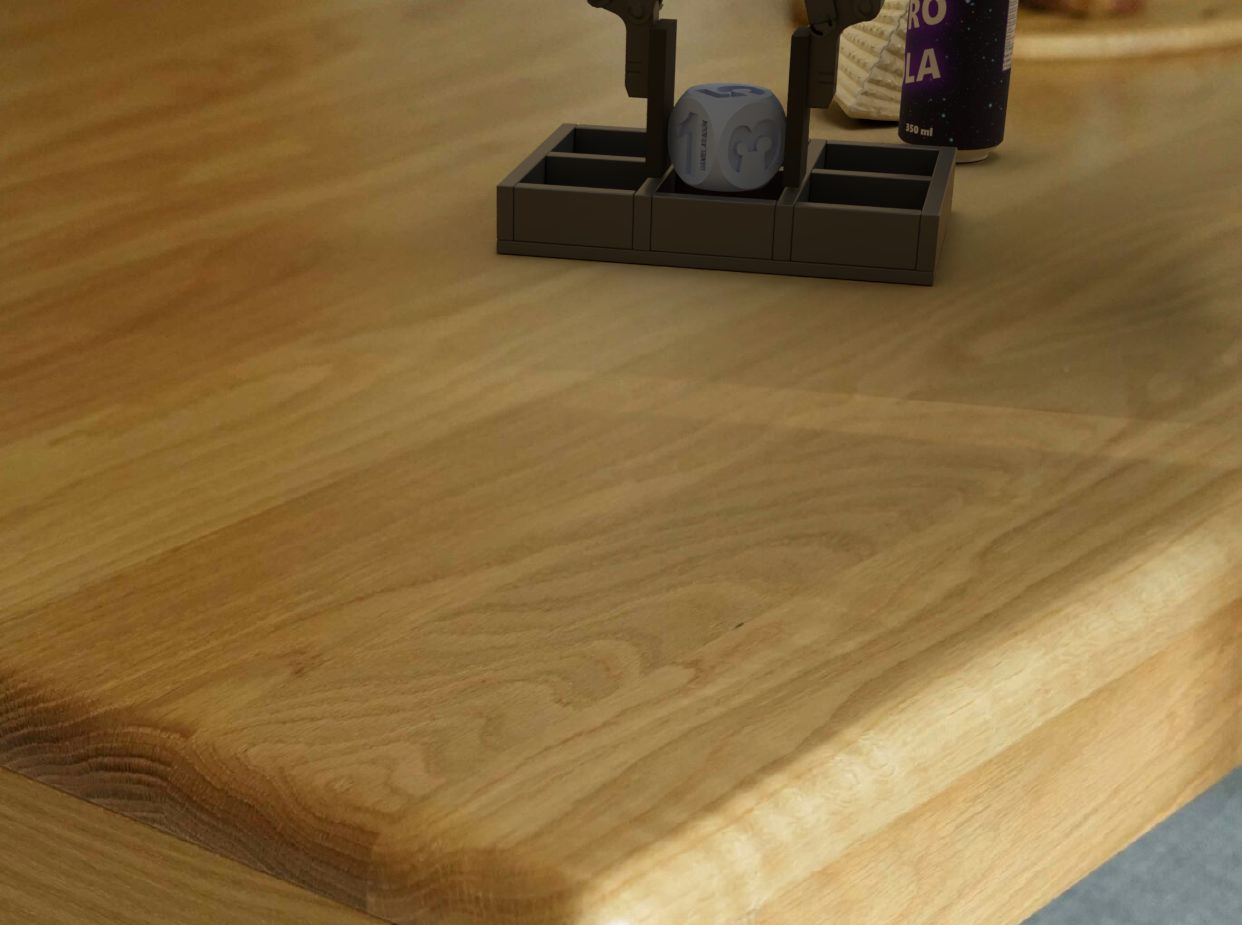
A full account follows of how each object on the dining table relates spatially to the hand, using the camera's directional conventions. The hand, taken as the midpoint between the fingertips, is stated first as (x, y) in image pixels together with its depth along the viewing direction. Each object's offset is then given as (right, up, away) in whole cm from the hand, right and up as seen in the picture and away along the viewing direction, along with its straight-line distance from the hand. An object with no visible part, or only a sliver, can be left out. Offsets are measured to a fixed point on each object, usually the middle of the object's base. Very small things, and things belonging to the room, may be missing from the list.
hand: (725, 174), depth 94 cm
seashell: (+11, +11, +29) cm, 33 cm away
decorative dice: (0, 0, 0) cm, 1 cm away
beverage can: (+14, +6, +19) cm, 24 cm away
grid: (+1, -2, +4) cm, 5 cm away
